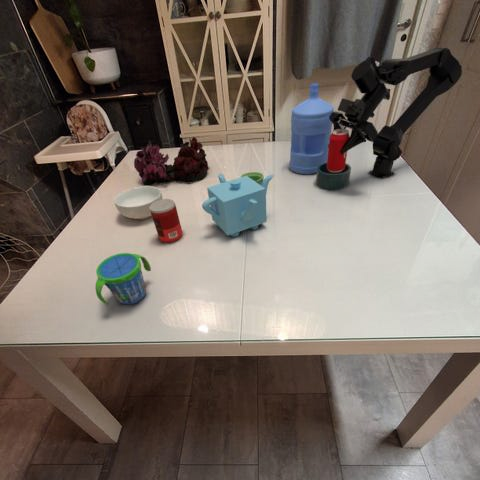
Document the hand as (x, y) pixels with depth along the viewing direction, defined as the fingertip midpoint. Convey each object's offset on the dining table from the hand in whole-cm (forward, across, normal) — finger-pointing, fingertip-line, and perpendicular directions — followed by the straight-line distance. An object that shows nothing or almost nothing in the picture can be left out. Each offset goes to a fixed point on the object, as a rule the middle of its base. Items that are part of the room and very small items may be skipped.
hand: (334, 150), depth 100 cm
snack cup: (+64, +21, -46) cm, 82 cm away
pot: (+7, -4, +13) cm, 15 cm away
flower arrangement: (+42, -48, -24) cm, 68 cm away
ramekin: (+25, -19, -6) cm, 32 cm away
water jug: (+6, -22, +14) cm, 27 cm away
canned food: (+52, -2, -34) cm, 62 cm away
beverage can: (+4, 0, +6) cm, 7 cm away
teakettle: (+36, +4, -18) cm, 40 cm away
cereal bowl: (+55, -23, -37) cm, 71 cm away
